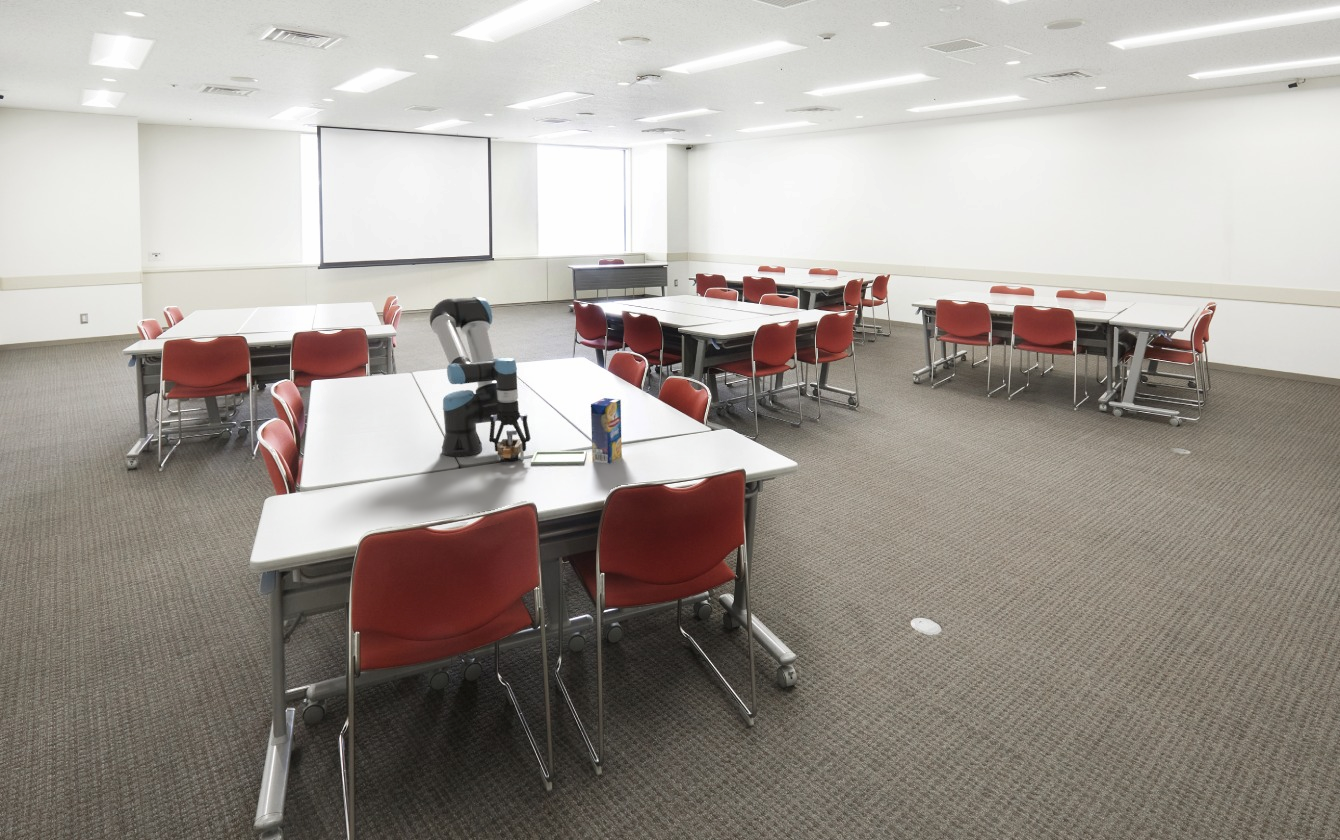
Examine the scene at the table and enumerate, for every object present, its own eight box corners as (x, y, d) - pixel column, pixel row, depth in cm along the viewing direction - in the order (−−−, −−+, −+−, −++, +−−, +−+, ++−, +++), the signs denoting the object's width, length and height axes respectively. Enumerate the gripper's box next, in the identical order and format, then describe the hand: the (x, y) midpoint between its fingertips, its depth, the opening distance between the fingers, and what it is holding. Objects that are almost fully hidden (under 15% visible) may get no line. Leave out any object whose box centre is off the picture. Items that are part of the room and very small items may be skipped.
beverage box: (621, 455, 286) (620, 399, 281) (608, 463, 277) (607, 406, 271) (605, 453, 289) (604, 398, 283) (592, 461, 279) (590, 404, 274)
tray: (530, 465, 275) (530, 461, 275) (535, 454, 288) (535, 451, 287) (584, 464, 276) (584, 461, 275) (586, 453, 288) (586, 450, 288)
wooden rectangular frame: (503, 446, 285) (502, 439, 285) (523, 446, 286) (522, 439, 285) (496, 457, 272) (495, 450, 271) (517, 457, 272) (516, 449, 271)
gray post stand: (502, 462, 278) (500, 432, 275) (504, 457, 284) (503, 428, 281) (517, 461, 279) (515, 432, 276) (519, 457, 284) (518, 428, 281)
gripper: (477, 402, 271) (481, 462, 277) (534, 402, 272) (537, 461, 278) (481, 398, 278) (485, 456, 284) (536, 397, 279) (539, 455, 285)
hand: (511, 459), depth 281 cm, fingers closed on wooden rectangular frame, 8 cm apart
